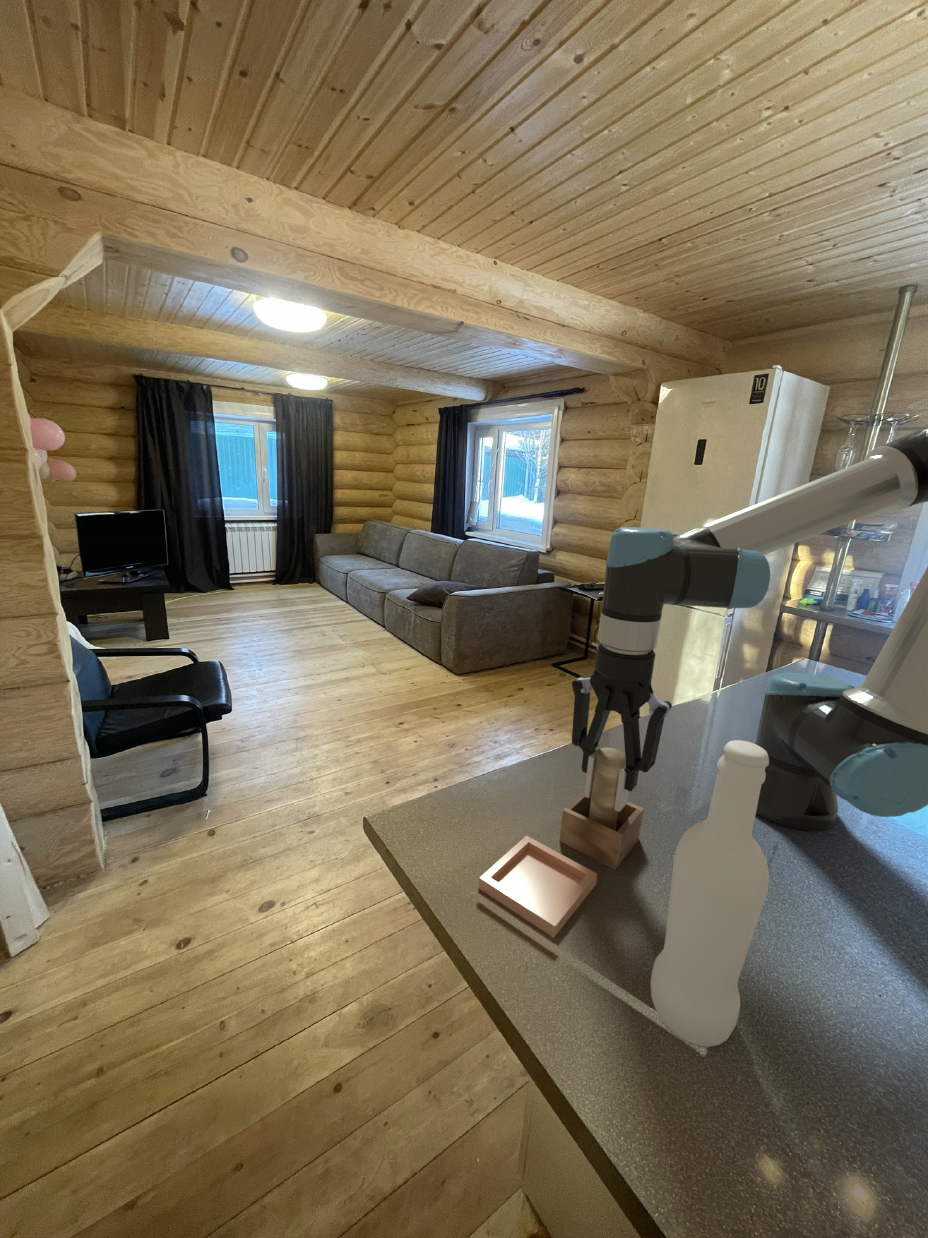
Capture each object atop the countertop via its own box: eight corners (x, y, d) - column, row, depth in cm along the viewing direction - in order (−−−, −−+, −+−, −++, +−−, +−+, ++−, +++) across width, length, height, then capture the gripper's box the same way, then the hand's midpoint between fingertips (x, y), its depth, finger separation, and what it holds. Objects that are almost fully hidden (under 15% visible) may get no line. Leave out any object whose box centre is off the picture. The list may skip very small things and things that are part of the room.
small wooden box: (638, 843, 77) (643, 808, 75) (614, 874, 70) (619, 837, 69) (585, 818, 82) (589, 785, 80) (559, 845, 75) (563, 810, 74)
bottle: (635, 975, 56) (678, 724, 48) (706, 972, 57) (760, 725, 49) (670, 1055, 48) (729, 772, 40) (751, 1050, 49) (824, 771, 41)
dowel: (618, 839, 76) (631, 754, 73) (606, 853, 73) (619, 765, 70) (593, 827, 79) (604, 744, 75) (581, 840, 76) (592, 754, 72)
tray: (595, 889, 68) (597, 874, 67) (553, 943, 59) (555, 926, 59) (525, 849, 74) (526, 835, 74) (478, 893, 66) (479, 877, 65)
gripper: (701, 655, 66) (673, 813, 72) (581, 627, 76) (565, 767, 82) (683, 669, 60) (654, 840, 66) (555, 637, 70) (540, 787, 76)
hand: (605, 799), depth 74 cm, fingers closed on dowel, 4 cm apart
